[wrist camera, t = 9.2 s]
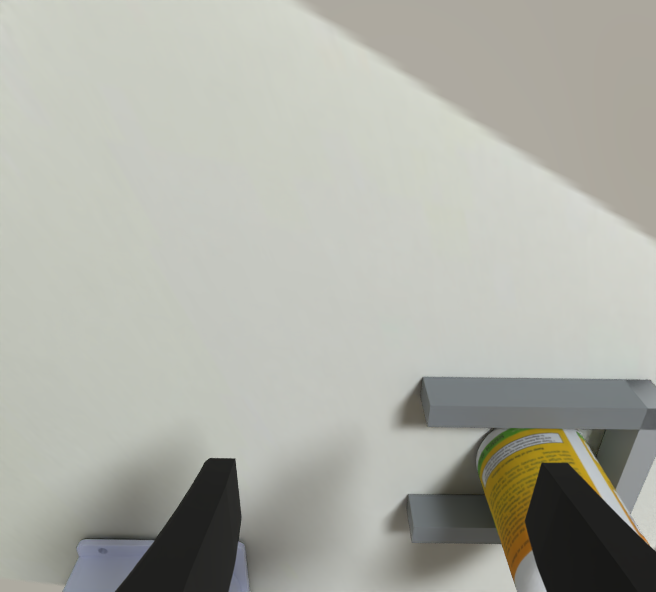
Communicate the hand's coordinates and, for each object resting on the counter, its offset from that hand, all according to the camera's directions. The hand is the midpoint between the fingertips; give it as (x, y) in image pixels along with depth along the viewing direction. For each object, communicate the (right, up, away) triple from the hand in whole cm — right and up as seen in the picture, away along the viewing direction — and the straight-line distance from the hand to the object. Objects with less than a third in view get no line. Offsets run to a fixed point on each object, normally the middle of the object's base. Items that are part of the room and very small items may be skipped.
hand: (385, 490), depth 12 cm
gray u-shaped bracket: (+9, -3, +13) cm, 16 cm away
